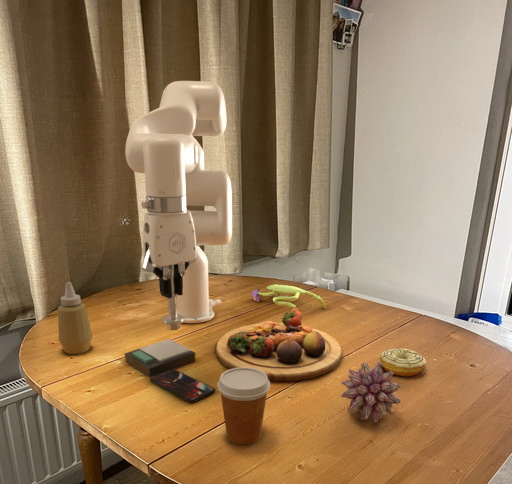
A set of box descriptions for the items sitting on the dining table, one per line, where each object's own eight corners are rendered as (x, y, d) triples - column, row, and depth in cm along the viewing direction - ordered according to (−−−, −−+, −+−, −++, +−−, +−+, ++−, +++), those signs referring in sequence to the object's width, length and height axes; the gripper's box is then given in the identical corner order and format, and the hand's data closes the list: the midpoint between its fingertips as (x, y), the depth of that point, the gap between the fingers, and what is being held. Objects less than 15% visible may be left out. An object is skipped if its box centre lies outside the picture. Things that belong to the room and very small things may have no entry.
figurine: (282, 321, 149) (283, 303, 147) (242, 296, 171) (242, 280, 169) (332, 311, 157) (333, 294, 155) (287, 288, 179) (288, 273, 177)
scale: (169, 347, 130) (169, 336, 129) (195, 361, 123) (195, 349, 122) (125, 362, 122) (124, 350, 121) (149, 377, 114) (148, 365, 113)
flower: (381, 407, 107) (414, 426, 95) (329, 413, 103) (357, 433, 92) (383, 354, 105) (416, 367, 93) (330, 358, 101) (359, 372, 90)
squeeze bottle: (83, 358, 124) (74, 288, 117) (54, 355, 125) (43, 286, 119) (99, 345, 131) (92, 279, 124) (71, 342, 133) (62, 277, 126)
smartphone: (172, 368, 118) (216, 389, 108) (172, 370, 118) (216, 391, 108) (147, 378, 113) (191, 401, 103) (147, 381, 113) (191, 404, 103)
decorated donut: (432, 368, 121) (434, 354, 120) (411, 383, 114) (414, 368, 112) (393, 355, 127) (394, 341, 126) (371, 368, 120) (373, 354, 119)
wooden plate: (262, 321, 148) (263, 295, 145) (362, 348, 131) (365, 319, 128) (189, 358, 124) (188, 327, 121) (300, 397, 107) (302, 362, 104)
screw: (189, 325, 107) (178, 333, 103) (168, 322, 109) (158, 330, 105) (186, 267, 102) (175, 273, 98) (165, 264, 104) (153, 271, 100)
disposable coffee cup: (217, 421, 98) (216, 366, 93) (266, 420, 98) (267, 365, 94) (218, 451, 89) (217, 391, 84) (271, 449, 90) (273, 390, 85)
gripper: (141, 212, 89) (148, 309, 96) (211, 203, 99) (213, 291, 106) (119, 206, 94) (128, 299, 101) (188, 198, 104) (191, 283, 111)
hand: (171, 294), depth 103 cm, fingers closed on screw, 2 cm apart
